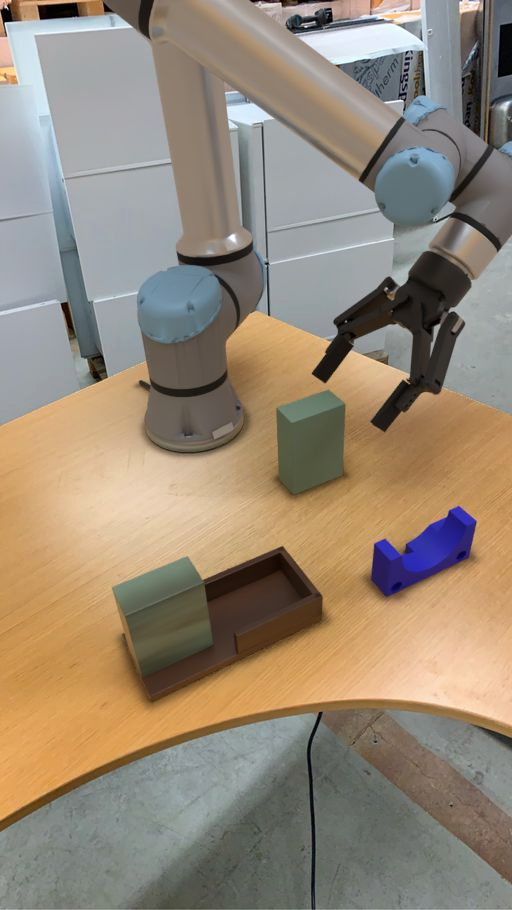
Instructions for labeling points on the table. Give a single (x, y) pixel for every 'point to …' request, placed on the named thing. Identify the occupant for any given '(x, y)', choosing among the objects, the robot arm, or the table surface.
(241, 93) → the robot arm
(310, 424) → the green rectangular block
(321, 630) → the table surface
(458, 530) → the blue cradle bracket
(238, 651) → the brown desk organizer
